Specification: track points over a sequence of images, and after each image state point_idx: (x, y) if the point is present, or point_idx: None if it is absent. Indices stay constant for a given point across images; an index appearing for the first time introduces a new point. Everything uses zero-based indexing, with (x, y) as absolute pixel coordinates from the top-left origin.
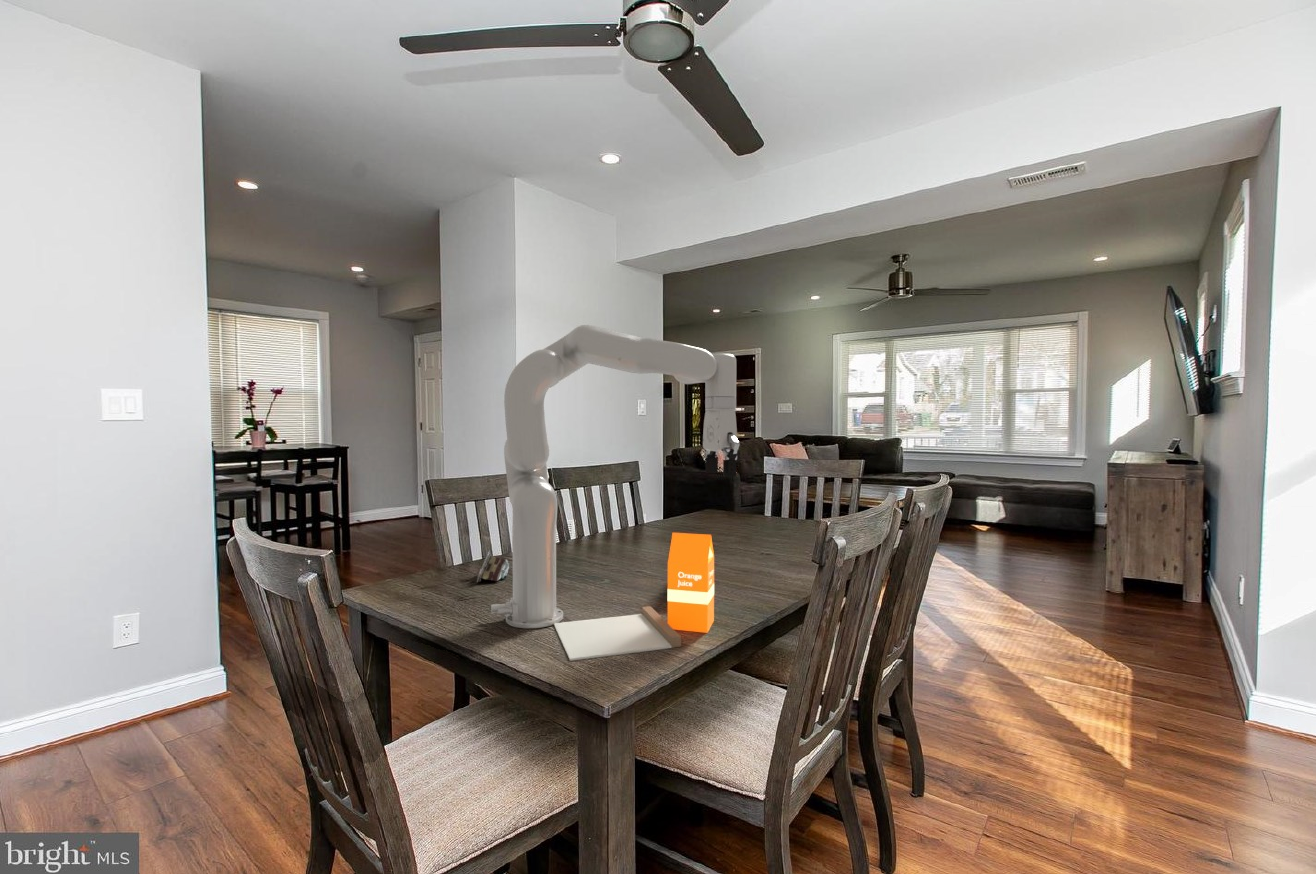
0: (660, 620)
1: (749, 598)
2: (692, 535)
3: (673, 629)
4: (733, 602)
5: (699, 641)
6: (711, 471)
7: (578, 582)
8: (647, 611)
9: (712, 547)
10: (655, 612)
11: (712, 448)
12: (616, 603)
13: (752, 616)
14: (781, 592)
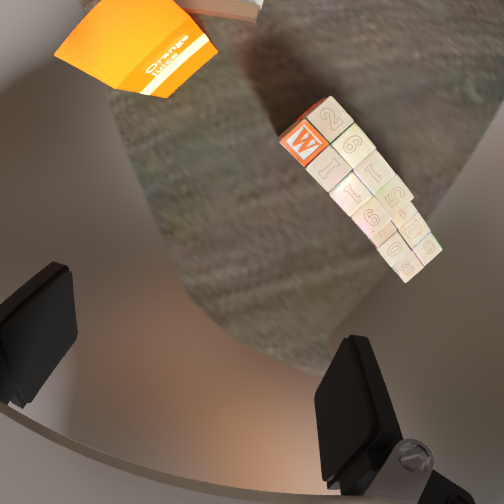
0: (178, 1)
1: (232, 232)
2: (91, 13)
3: None
4: (229, 191)
5: None
6: (334, 368)
7: (484, 53)
8: (231, 1)
9: (90, 74)
10: (217, 9)
11: (32, 452)
12: (348, 14)
13: (152, 169)
14: (229, 299)
